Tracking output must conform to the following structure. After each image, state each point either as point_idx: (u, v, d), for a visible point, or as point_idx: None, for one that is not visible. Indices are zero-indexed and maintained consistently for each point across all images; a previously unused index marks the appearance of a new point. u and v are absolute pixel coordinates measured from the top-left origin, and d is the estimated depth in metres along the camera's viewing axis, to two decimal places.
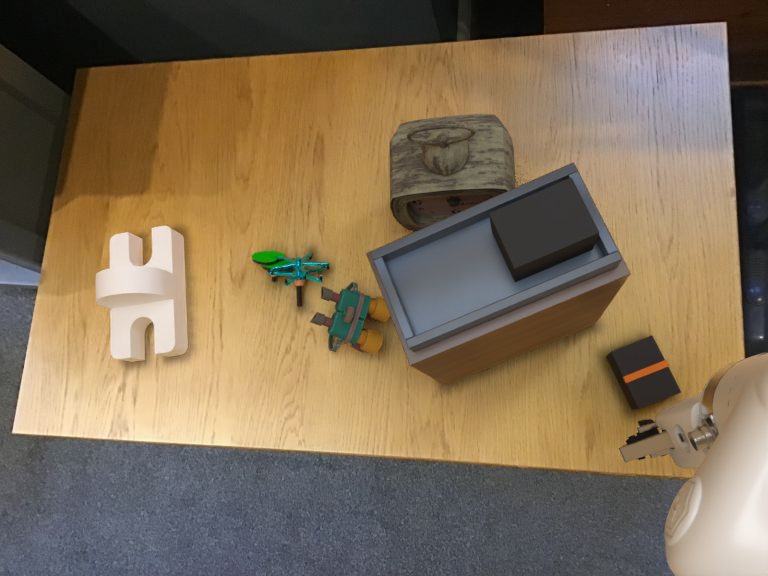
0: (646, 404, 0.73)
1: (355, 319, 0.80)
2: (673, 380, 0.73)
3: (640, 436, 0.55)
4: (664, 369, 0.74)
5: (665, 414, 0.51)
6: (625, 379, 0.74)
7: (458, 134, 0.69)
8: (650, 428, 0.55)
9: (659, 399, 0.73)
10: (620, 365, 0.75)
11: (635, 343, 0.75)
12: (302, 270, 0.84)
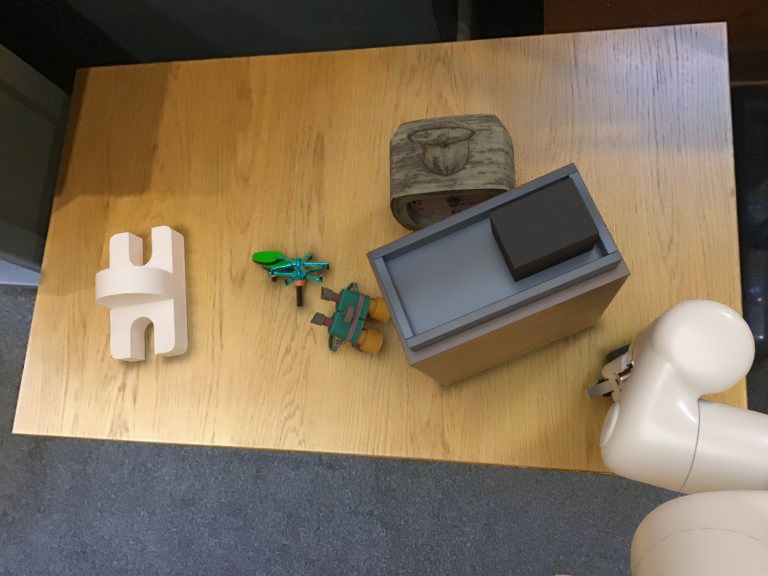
0: None
1: (355, 319, 0.80)
2: None
3: (607, 379, 0.73)
4: None
5: (607, 366, 0.68)
6: None
7: (458, 134, 0.69)
8: None
9: None
10: None
11: None
12: (302, 270, 0.84)
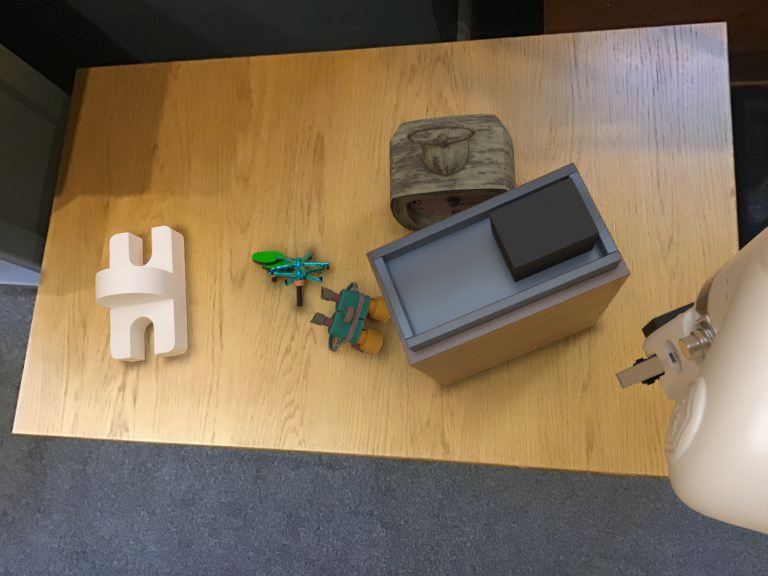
0: None
1: (355, 319, 0.80)
2: None
3: (649, 359, 0.49)
4: None
5: (654, 334, 0.44)
6: None
7: (458, 134, 0.69)
8: None
9: None
10: None
11: (689, 306, 0.51)
12: (302, 270, 0.84)
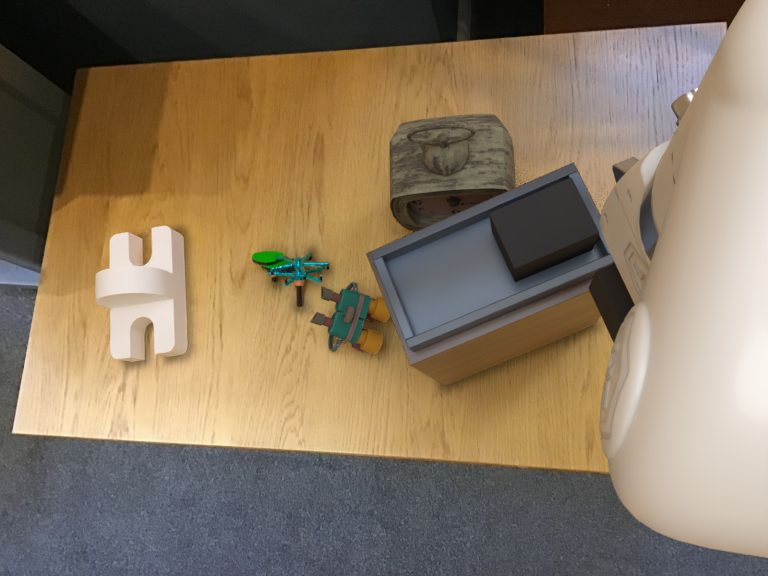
0: (605, 284, 0.39)
1: (355, 319, 0.80)
2: None
3: None
4: None
5: None
6: None
7: (458, 134, 0.69)
8: None
9: (616, 308, 0.39)
10: None
11: None
12: (302, 270, 0.84)
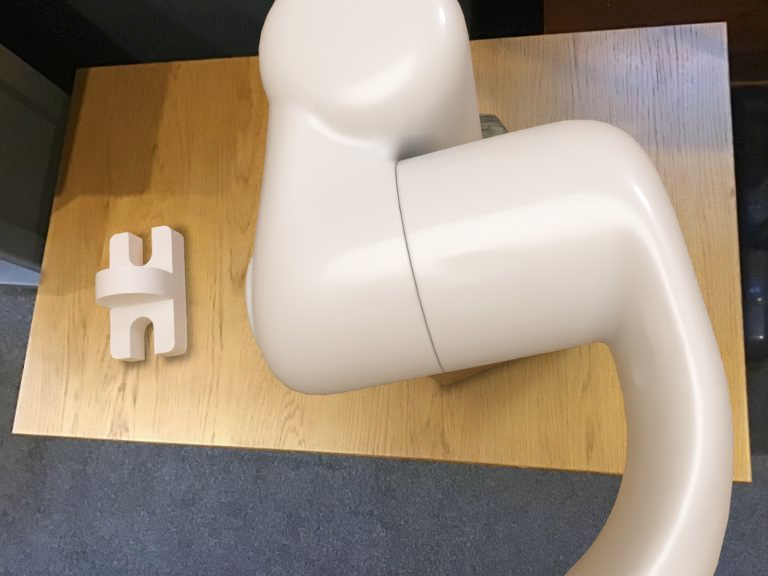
0: None
1: None
2: None
3: None
4: None
5: None
6: None
7: None
8: None
9: None
10: None
11: None
12: None
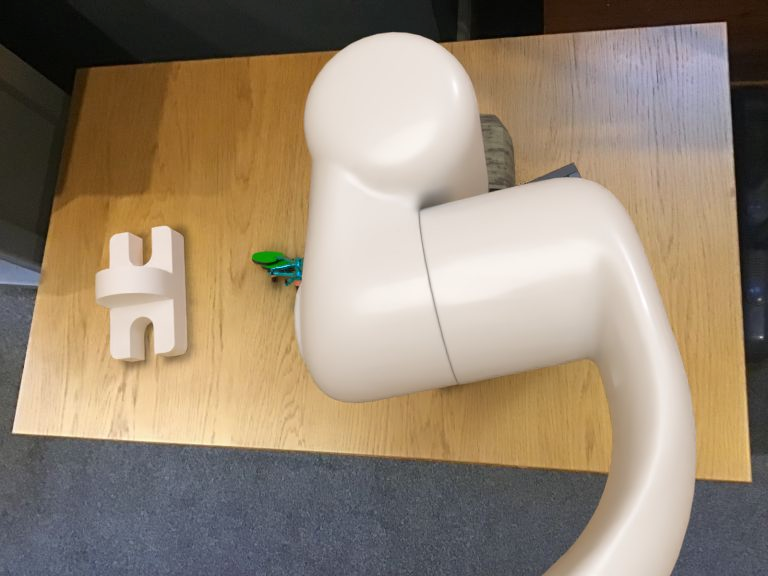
0: None
1: None
2: None
3: None
4: None
5: None
6: None
7: None
8: None
9: None
10: None
11: None
12: (302, 270, 0.84)
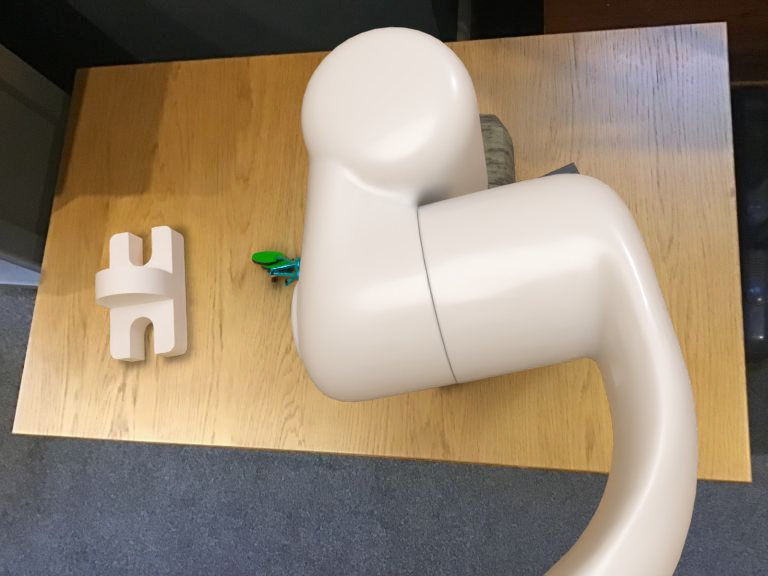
0: None
1: None
2: None
3: None
4: None
5: None
6: None
7: None
8: None
9: None
10: None
11: None
12: None
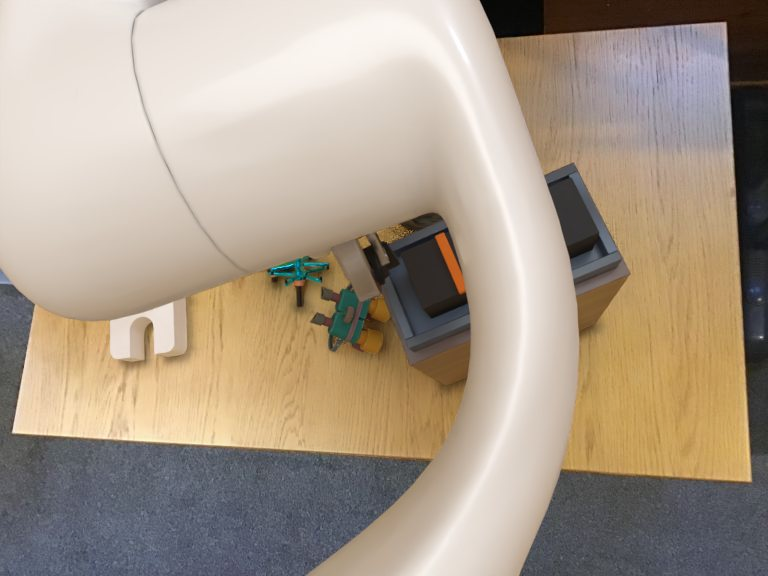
0: (406, 263, 0.53)
1: (355, 319, 0.80)
2: (439, 299, 0.51)
3: None
4: (455, 287, 0.51)
5: None
6: (440, 235, 0.52)
7: None
8: None
9: (413, 280, 0.52)
10: None
11: None
12: (302, 270, 0.84)
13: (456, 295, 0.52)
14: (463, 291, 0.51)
